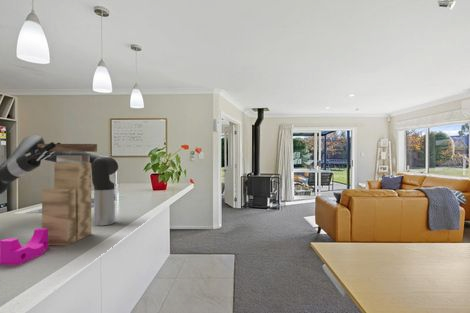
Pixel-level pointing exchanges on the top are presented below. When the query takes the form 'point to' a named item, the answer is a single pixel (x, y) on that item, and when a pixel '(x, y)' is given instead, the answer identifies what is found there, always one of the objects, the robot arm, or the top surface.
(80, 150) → the walnut bar
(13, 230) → the top surface
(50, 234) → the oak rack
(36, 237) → the toy block
